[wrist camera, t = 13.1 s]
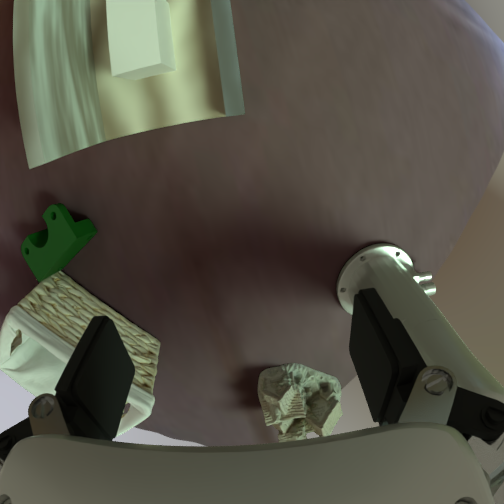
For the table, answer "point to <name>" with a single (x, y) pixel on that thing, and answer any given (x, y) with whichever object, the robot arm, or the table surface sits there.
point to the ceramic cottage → (299, 401)
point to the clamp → (56, 242)
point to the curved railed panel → (115, 88)
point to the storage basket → (70, 342)
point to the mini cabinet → (140, 38)
